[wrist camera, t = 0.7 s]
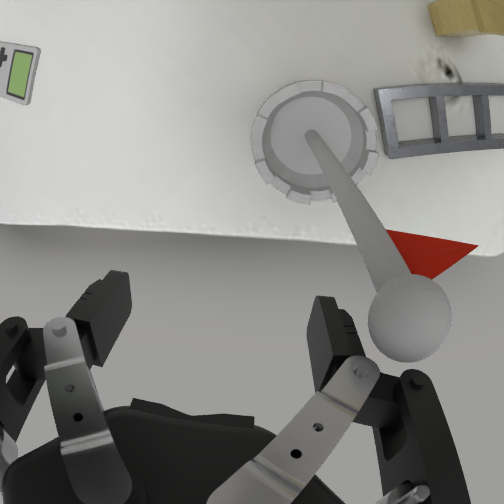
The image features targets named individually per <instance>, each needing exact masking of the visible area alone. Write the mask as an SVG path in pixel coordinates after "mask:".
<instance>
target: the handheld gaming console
mask: <svg viewBox="0 0 504 504" xmlns="http://www.w3.org/2000/svg"><path fill="white" fill-rule="evenodd" d="M40 53H41V50H40V48H38V47H32V46H27V45H21V44H15V43H8V42H1V41H0V97H3V98H6V99H9V100H11V101H14V102H16V103H19V104H22V105H28V104H29V103H30V102H31V96H32V90H33V84H34V79H35V74H36V70H37V65H38V61H39V57H40Z"/></svg>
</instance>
